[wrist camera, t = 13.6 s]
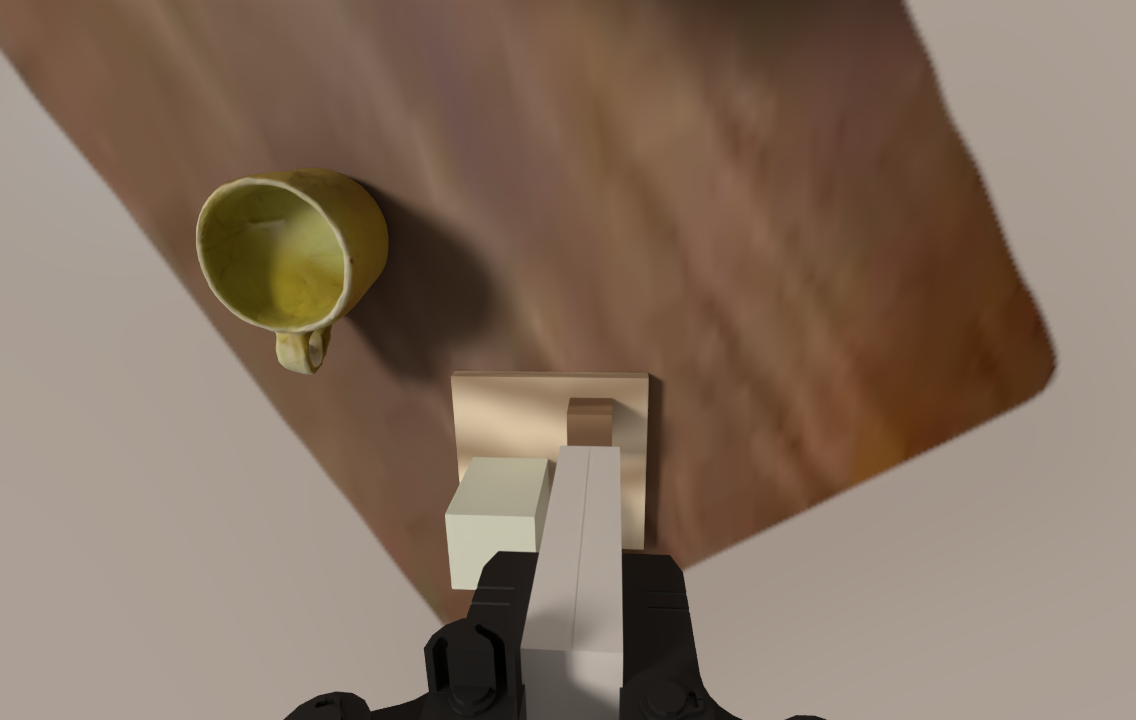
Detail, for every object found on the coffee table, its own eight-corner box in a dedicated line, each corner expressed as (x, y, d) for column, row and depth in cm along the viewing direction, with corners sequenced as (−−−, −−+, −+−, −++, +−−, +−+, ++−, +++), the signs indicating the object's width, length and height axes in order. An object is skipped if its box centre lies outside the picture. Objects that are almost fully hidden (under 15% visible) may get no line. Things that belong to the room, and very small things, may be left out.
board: (455, 370, 43) (438, 391, 39) (647, 372, 42) (651, 394, 38) (468, 534, 47) (454, 568, 43) (642, 540, 46) (645, 575, 42)
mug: (232, 126, 37) (172, 171, 28) (400, 163, 40) (389, 214, 31) (235, 297, 43) (187, 375, 35) (381, 318, 46) (368, 394, 38)
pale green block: (473, 456, 43) (444, 514, 36) (547, 458, 43) (534, 517, 36) (478, 521, 45) (452, 588, 38) (549, 523, 45) (537, 592, 38)
